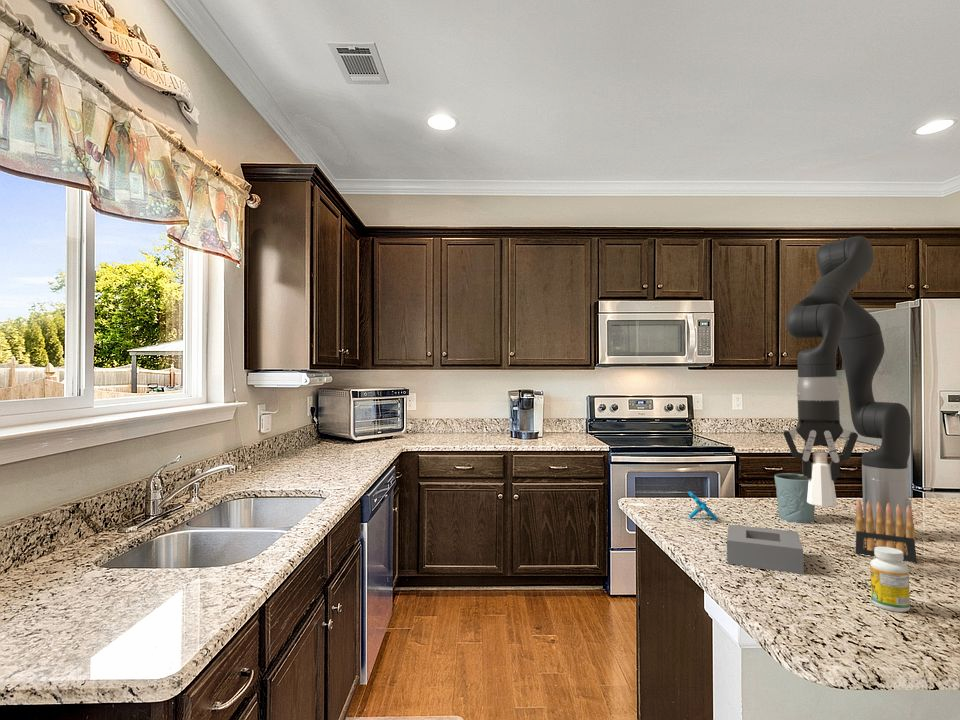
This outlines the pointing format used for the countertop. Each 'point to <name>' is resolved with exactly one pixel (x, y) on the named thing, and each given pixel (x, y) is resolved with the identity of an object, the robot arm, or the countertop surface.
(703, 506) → the blue t-shaped piece
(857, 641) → the countertop surface
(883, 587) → the supplement bottle
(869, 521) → the ammunition clip
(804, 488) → the blue cup
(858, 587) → the countertop surface
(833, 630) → the countertop surface
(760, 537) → the frame
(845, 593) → the countertop surface
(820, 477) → the pepper shaker
